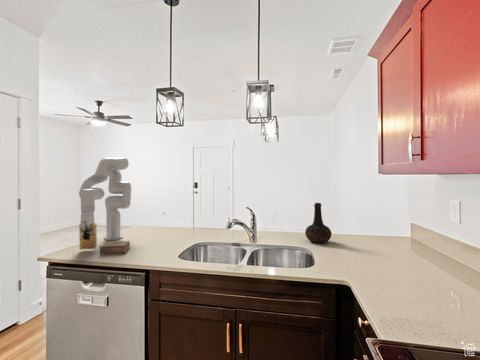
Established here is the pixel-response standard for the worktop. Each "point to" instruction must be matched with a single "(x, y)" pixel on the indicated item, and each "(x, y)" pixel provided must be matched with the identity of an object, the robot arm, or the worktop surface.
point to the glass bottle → (318, 228)
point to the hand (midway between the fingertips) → (88, 238)
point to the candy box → (92, 235)
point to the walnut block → (114, 247)
